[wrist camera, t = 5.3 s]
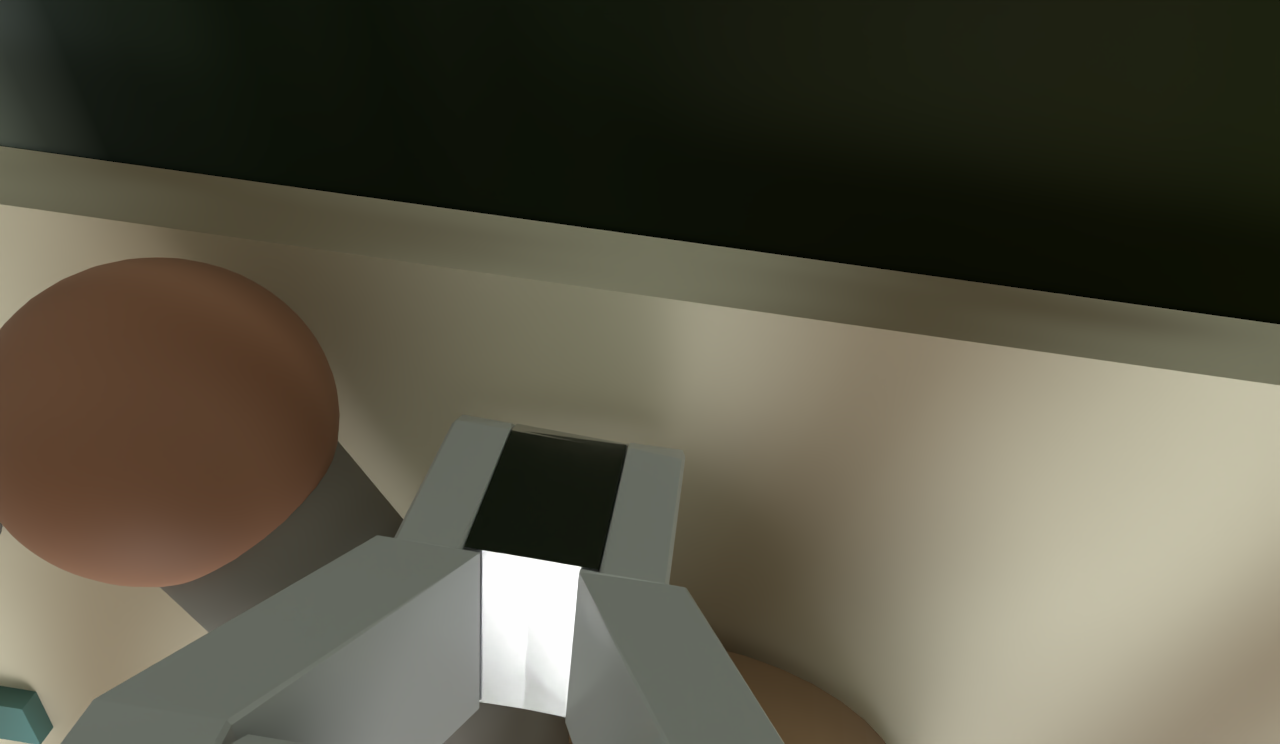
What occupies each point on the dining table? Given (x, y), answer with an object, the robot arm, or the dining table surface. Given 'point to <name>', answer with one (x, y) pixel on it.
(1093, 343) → the board
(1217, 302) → the dining table surface
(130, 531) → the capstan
